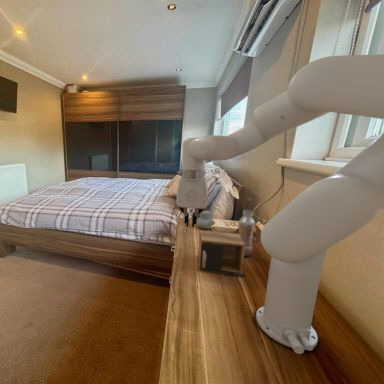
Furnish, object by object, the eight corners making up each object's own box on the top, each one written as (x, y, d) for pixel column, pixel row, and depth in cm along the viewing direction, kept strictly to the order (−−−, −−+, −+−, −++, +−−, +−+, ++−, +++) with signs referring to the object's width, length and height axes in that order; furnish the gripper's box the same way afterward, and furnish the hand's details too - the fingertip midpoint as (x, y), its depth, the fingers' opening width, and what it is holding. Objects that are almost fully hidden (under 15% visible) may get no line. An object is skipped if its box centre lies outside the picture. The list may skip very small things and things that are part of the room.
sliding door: (222, 276, 73) (224, 250, 71) (200, 273, 75) (202, 248, 73) (220, 269, 77) (222, 245, 75) (200, 266, 79) (201, 242, 77)
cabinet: (243, 276, 74) (246, 246, 72) (199, 270, 78) (201, 241, 76) (235, 260, 85) (238, 233, 82) (198, 256, 89) (199, 230, 87)
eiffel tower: (256, 234, 111) (262, 190, 106) (256, 241, 102) (261, 193, 97) (235, 230, 116) (239, 188, 112) (232, 237, 108) (237, 191, 103)
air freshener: (205, 223, 128) (206, 208, 127) (216, 227, 121) (217, 211, 119) (192, 227, 123) (193, 211, 121) (203, 231, 116) (205, 214, 114)
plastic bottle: (247, 250, 93) (252, 208, 89) (254, 258, 87) (260, 213, 83) (232, 250, 94) (236, 208, 90) (239, 257, 87) (243, 213, 83)
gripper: (168, 175, 68) (167, 227, 72) (218, 176, 64) (214, 231, 67) (170, 173, 75) (169, 220, 79) (215, 174, 71) (212, 223, 74)
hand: (190, 225), depth 73 cm, fingers closed
